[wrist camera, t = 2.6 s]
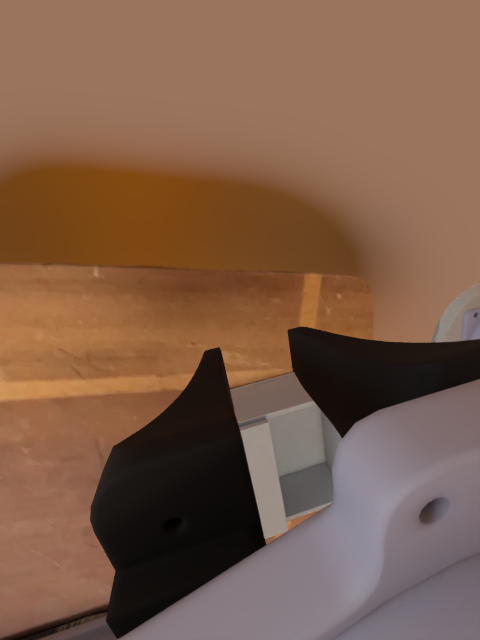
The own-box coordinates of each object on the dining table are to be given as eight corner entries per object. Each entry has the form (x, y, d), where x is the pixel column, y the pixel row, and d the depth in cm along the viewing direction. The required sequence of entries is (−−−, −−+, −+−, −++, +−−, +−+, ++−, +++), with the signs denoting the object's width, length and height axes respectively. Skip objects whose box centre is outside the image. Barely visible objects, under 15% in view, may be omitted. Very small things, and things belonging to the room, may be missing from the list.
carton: (319, 364, 25) (352, 397, 20) (327, 460, 29) (357, 507, 24) (180, 402, 23) (180, 448, 19) (210, 498, 28) (216, 556, 23)
